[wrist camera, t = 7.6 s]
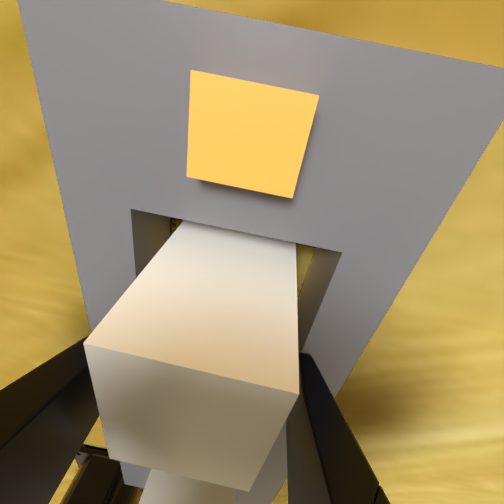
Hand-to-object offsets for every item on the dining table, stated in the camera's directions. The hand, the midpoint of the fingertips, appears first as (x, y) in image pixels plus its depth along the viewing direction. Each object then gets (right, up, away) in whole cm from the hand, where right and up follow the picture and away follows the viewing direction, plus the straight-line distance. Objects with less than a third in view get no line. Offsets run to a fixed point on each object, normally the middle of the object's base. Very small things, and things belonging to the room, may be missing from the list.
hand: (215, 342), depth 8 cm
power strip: (0, -2, +6) cm, 6 cm away
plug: (0, +2, +4) cm, 4 cm away
